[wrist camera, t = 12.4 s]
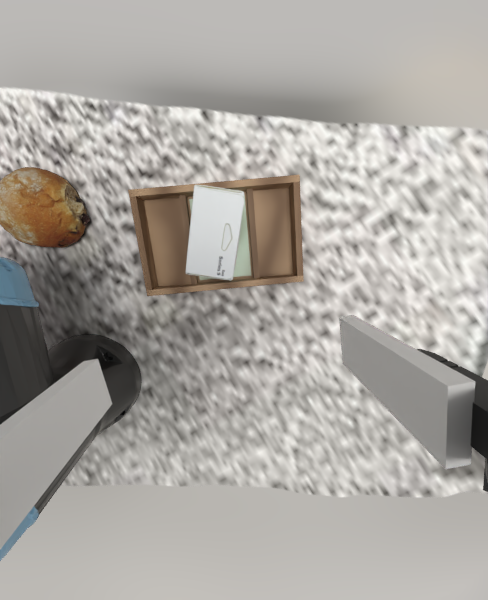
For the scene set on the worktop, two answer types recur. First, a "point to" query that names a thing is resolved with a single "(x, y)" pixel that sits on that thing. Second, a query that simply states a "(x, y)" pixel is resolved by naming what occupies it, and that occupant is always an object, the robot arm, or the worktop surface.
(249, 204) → the tray
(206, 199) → the ink box
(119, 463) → the worktop surface
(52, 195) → the bread roll
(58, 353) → the robot arm
